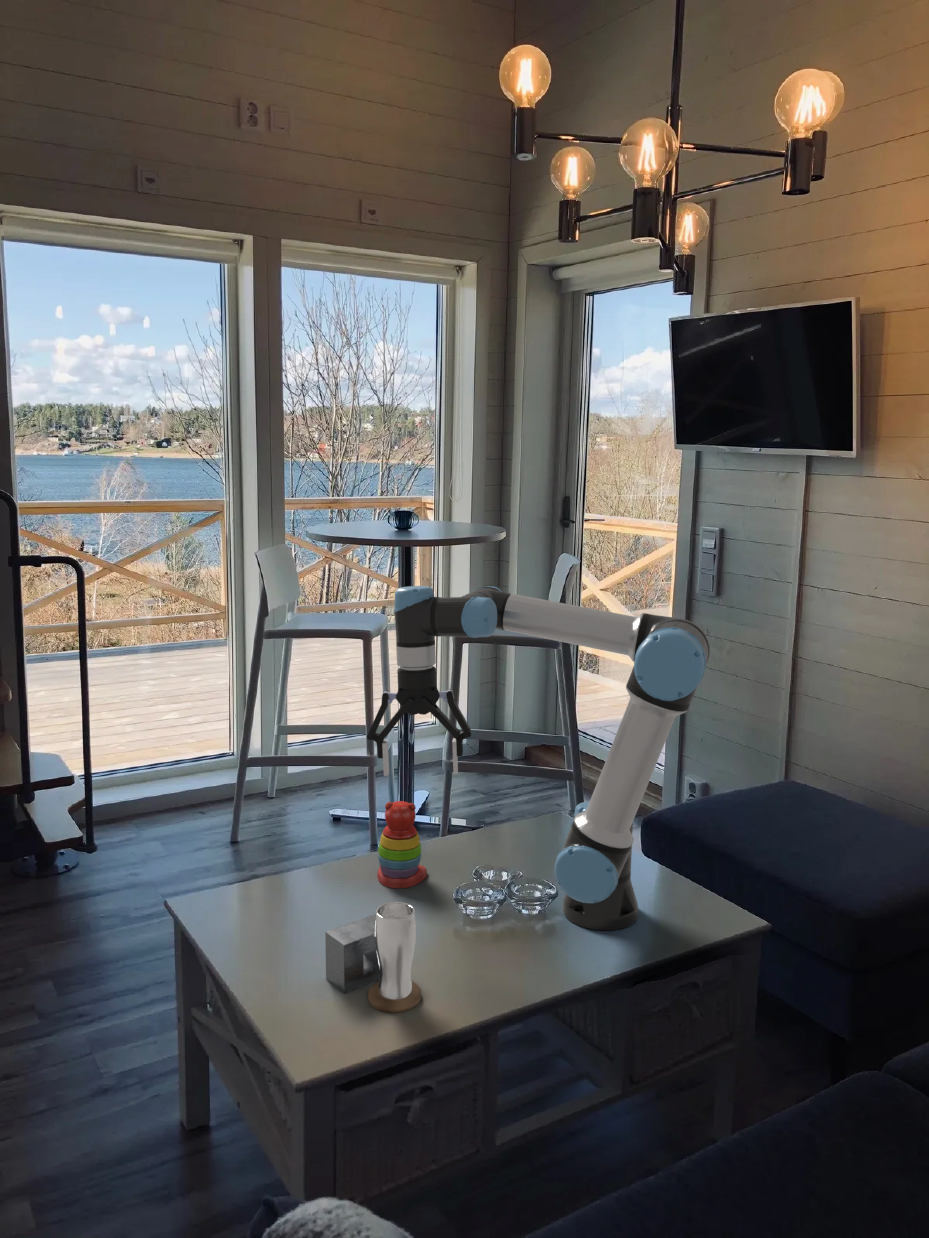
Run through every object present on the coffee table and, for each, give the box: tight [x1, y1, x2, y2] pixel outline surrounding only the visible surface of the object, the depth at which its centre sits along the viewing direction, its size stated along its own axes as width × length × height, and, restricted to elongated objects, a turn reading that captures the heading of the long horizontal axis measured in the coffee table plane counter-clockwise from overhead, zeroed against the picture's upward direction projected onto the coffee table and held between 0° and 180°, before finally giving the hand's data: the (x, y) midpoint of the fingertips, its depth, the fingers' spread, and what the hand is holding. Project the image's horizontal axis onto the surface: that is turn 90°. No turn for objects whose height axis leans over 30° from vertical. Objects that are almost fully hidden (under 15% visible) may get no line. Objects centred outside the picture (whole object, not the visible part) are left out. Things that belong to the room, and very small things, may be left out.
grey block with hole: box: [324, 913, 380, 994], centre depth 173 cm, size 6×12×9 cm, turn 130°
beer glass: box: [375, 901, 417, 1002], centre depth 165 cm, size 7×7×15 cm
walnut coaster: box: [367, 981, 422, 1014], centre depth 166 cm, size 9×9×1 cm
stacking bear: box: [376, 800, 428, 889], centre depth 211 cm, size 11×10×18 cm
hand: (421, 773), depth 190 cm, fingers open, 13 cm apart
